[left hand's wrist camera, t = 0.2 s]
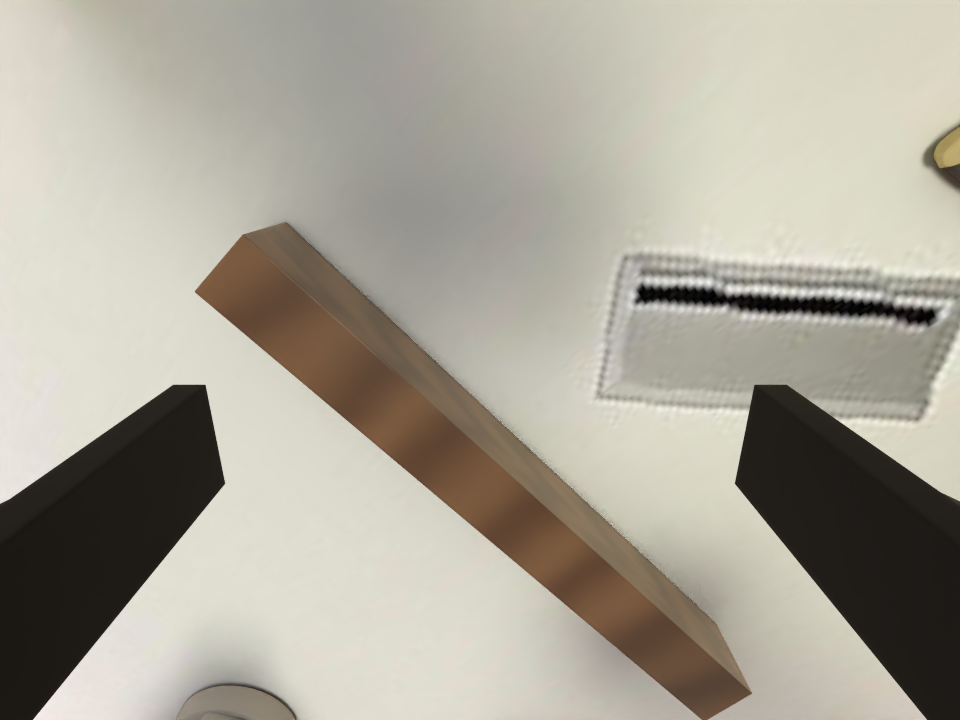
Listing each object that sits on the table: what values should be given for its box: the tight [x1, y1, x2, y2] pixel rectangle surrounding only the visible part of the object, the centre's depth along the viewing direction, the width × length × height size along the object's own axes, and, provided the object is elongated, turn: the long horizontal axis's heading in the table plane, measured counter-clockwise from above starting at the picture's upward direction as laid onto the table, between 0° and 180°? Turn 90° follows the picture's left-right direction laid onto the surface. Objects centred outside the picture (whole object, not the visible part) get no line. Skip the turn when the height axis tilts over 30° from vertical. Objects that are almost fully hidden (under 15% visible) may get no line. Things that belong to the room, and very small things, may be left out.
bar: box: [195, 223, 752, 720], centre depth 41 cm, size 54×5×7 cm, turn 44°
